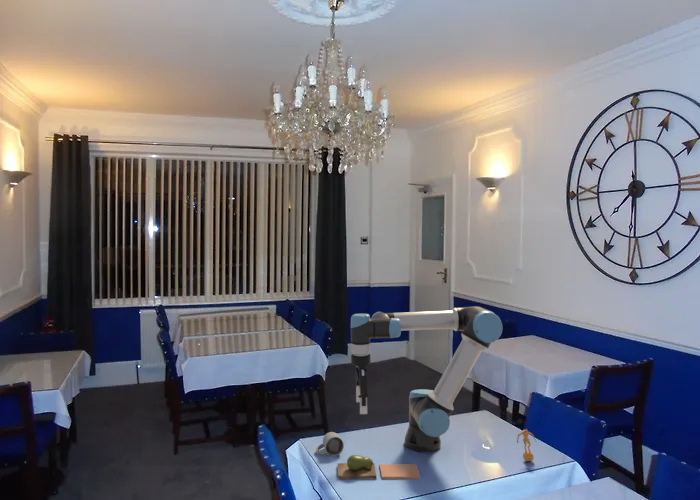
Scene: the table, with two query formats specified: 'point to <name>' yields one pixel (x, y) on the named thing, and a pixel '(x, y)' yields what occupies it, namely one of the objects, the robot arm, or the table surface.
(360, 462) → the green oblong lump
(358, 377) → the robot arm
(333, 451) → the ceramic mug
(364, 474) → the walnut board
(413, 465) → the terracotta tile
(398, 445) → the table surface
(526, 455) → the figurine
